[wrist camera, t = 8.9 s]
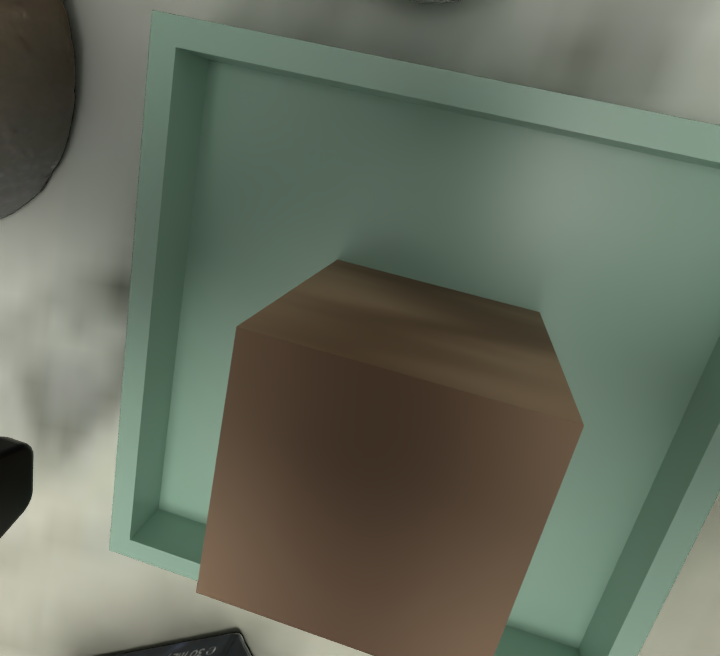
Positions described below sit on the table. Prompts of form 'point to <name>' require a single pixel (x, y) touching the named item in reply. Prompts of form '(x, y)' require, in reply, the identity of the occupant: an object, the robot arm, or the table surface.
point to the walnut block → (386, 463)
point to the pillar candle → (33, 96)
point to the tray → (438, 267)
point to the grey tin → (434, 1)
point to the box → (200, 647)
